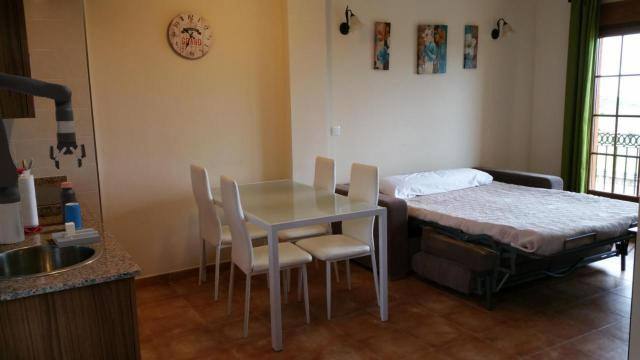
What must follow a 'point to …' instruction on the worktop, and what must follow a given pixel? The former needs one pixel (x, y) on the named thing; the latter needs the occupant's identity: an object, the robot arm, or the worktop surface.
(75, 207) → the beverage can
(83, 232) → the fader console
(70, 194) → the bottle
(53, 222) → the worktop surface
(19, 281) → the worktop surface
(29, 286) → the worktop surface
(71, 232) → the fader tab
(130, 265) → the worktop surface
